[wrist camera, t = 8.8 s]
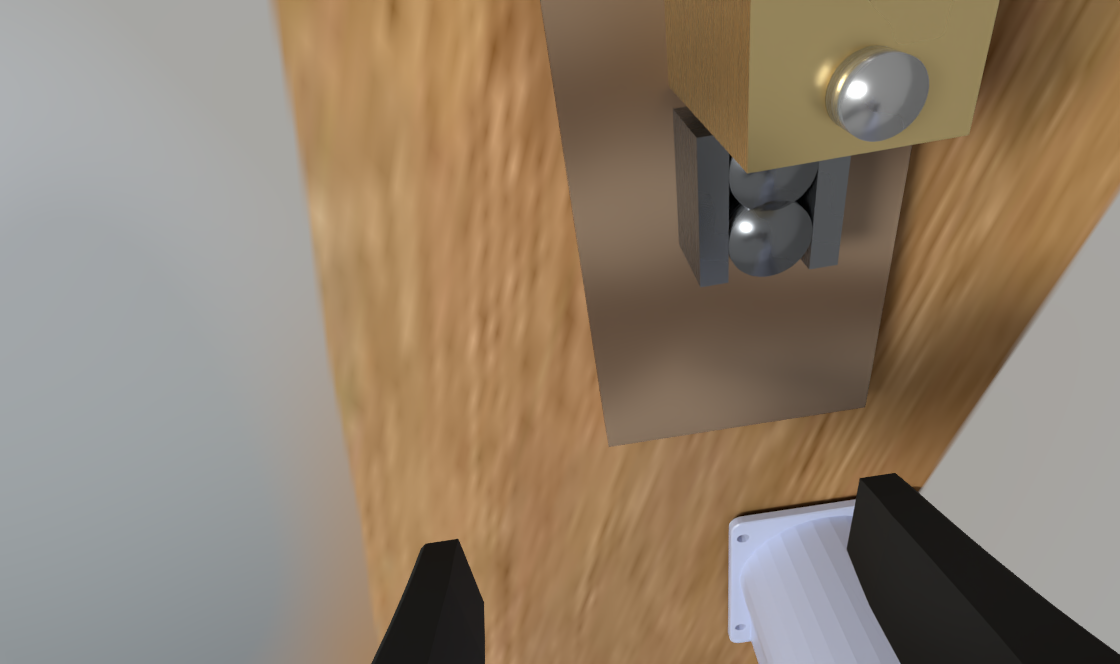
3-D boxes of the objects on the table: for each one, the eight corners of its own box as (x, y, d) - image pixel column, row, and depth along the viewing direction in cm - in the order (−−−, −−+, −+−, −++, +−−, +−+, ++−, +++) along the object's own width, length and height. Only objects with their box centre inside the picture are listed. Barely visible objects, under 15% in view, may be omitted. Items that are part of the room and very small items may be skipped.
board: (852, 388, 22) (865, 407, 21) (605, 427, 22) (608, 446, 21) (1022, -683, 9) (1070, -740, 9) (454, -559, 10) (448, -602, 9)
